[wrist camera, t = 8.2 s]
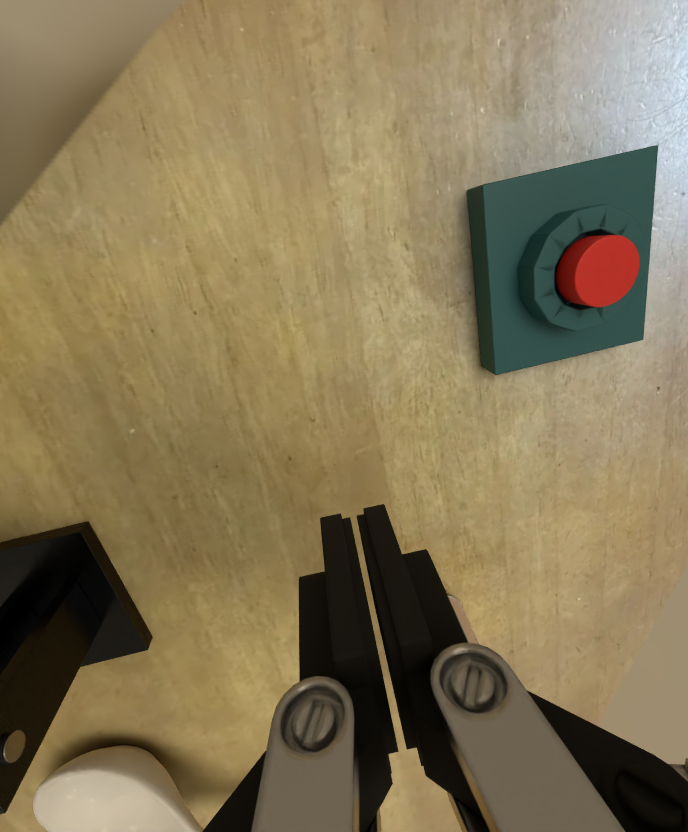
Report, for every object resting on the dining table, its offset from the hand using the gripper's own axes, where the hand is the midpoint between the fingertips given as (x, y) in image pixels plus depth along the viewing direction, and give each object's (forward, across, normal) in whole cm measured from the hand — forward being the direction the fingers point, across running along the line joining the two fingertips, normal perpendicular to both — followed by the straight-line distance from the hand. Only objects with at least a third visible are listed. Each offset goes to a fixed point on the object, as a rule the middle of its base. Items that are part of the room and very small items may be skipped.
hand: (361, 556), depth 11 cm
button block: (+18, -16, -4) cm, 24 cm away
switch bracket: (+18, +23, +14) cm, 32 cm away
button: (+15, -16, -4) cm, 22 cm away
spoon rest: (+18, +21, +37) cm, 46 cm away
